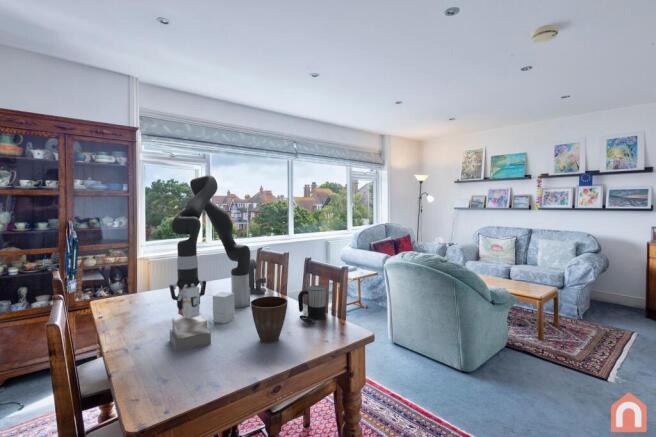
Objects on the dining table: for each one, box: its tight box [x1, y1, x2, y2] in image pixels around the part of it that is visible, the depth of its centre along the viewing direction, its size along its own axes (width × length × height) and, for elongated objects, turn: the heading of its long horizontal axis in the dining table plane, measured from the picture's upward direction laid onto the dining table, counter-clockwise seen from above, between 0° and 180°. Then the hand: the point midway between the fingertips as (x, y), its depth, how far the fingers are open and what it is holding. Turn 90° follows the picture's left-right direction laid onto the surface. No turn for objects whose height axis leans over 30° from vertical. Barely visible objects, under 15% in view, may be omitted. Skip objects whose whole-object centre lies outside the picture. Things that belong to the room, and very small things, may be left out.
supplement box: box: [212, 291, 236, 324], centre depth 159 cm, size 7×7×13 cm
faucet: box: [249, 258, 267, 295], centre depth 210 cm, size 18×16×20 cm
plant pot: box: [250, 295, 288, 344], centre depth 137 cm, size 15×15×16 cm
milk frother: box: [297, 284, 328, 325], centre depth 159 cm, size 14×16×15 cm
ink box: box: [177, 286, 200, 319], centre depth 134 cm, size 9×5×12 cm, turn 50°
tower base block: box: [169, 328, 212, 353], centre depth 135 cm, size 13×13×5 cm
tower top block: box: [171, 312, 208, 339], centre depth 134 cm, size 11×11×5 cm
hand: (188, 307), depth 134 cm, fingers closed on ink box, 5 cm apart
